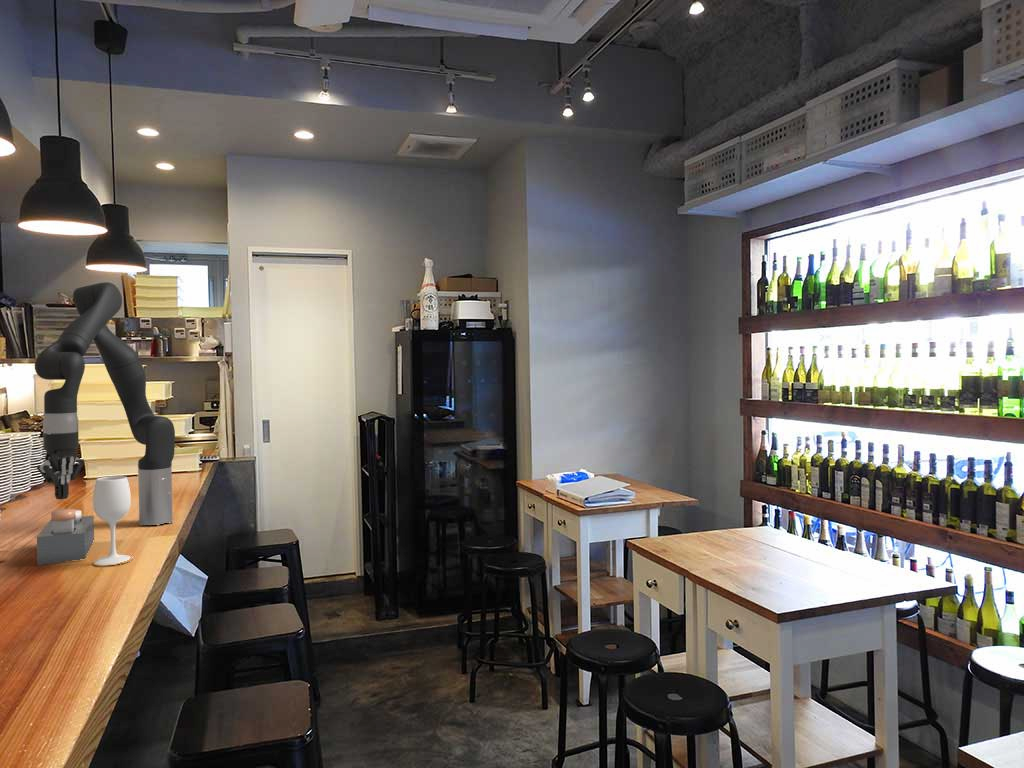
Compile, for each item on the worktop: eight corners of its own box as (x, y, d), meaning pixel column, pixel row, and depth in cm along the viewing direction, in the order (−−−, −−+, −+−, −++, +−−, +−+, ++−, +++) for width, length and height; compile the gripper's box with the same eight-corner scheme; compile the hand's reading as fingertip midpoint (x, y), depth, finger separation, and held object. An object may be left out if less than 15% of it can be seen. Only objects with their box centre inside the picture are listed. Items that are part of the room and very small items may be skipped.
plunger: (77, 535, 182) (76, 508, 182) (74, 539, 177) (74, 512, 177) (53, 537, 180) (52, 510, 179) (50, 541, 175) (49, 514, 175)
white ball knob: (83, 534, 193) (82, 509, 192) (80, 539, 188) (80, 513, 188) (60, 536, 190) (60, 511, 190) (57, 541, 186) (57, 514, 186)
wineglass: (124, 555, 181) (122, 474, 180) (139, 561, 176) (137, 477, 175) (87, 562, 174) (85, 478, 174) (101, 569, 169) (99, 482, 168)
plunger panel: (94, 540, 196) (93, 515, 196) (84, 560, 176) (84, 532, 176) (51, 544, 192) (51, 519, 191) (37, 565, 172) (36, 537, 172)
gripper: (68, 428, 185) (69, 493, 185) (25, 432, 172) (26, 503, 172) (93, 428, 183) (94, 494, 184) (52, 433, 170) (53, 504, 171)
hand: (61, 498), depth 178 cm, fingers closed
